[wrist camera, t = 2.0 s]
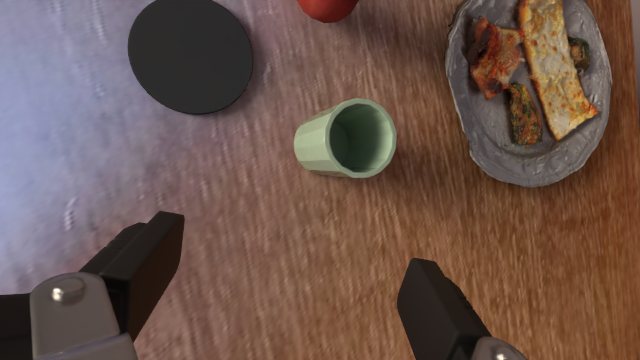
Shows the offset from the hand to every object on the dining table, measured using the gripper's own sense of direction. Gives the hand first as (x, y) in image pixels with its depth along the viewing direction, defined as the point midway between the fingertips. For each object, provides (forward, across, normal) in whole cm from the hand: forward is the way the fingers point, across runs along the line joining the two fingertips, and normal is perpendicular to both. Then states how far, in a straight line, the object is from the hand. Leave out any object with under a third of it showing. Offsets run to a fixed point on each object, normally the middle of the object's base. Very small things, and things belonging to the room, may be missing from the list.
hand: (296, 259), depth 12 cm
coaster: (+21, +10, -5) cm, 24 cm away
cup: (+22, -2, +1) cm, 22 cm away
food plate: (+32, -25, -10) cm, 41 cm away
